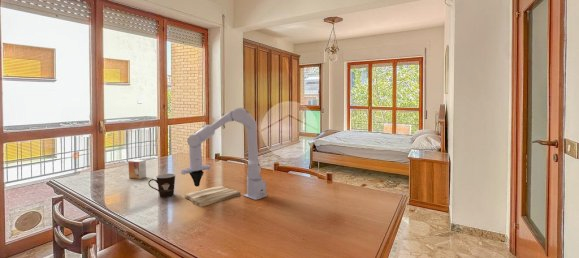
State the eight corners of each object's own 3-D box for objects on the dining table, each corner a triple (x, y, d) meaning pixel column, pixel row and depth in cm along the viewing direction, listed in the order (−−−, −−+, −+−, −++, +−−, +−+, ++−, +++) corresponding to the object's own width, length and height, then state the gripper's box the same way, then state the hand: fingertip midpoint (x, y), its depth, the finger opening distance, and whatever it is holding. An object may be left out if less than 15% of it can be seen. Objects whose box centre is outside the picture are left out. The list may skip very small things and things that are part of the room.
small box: (128, 178, 178) (127, 161, 176) (136, 175, 183) (135, 159, 182) (139, 179, 175) (138, 161, 174) (146, 176, 181) (145, 160, 179)
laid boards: (240, 195, 146) (240, 191, 146) (200, 206, 130) (200, 203, 130) (232, 192, 151) (232, 189, 150) (192, 203, 134) (192, 199, 134)
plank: (229, 191, 151) (229, 188, 150) (193, 201, 136) (193, 198, 136) (220, 188, 156) (220, 185, 156) (184, 197, 141) (184, 194, 141)
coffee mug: (179, 192, 149) (178, 173, 148) (170, 198, 141) (169, 178, 140) (157, 192, 151) (156, 173, 150) (147, 197, 142) (146, 177, 141)
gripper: (204, 155, 150) (205, 181, 152) (177, 160, 140) (179, 187, 141) (212, 157, 146) (213, 183, 147) (184, 162, 135) (186, 190, 136)
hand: (197, 185), depth 144 cm, fingers closed
